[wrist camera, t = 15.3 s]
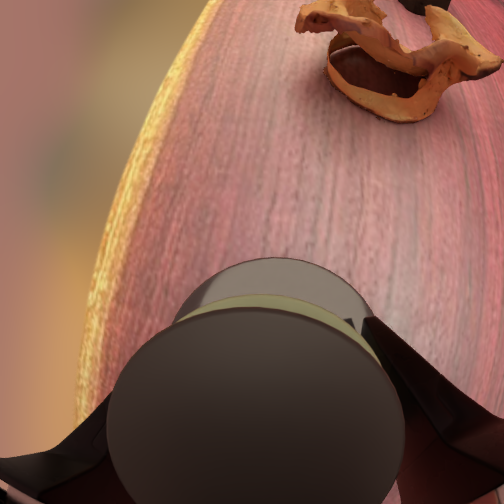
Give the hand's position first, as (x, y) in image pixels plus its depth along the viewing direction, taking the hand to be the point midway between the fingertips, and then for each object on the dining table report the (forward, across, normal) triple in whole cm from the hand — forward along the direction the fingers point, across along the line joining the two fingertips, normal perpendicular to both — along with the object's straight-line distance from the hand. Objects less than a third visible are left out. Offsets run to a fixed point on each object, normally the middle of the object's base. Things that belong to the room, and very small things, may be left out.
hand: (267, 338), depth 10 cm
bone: (+13, -9, -8) cm, 18 cm away
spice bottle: (0, 0, +2) cm, 2 cm away
